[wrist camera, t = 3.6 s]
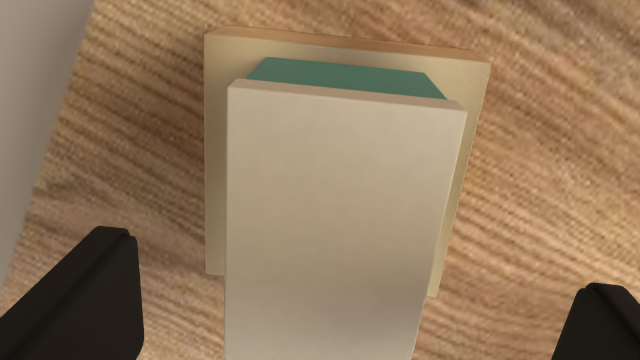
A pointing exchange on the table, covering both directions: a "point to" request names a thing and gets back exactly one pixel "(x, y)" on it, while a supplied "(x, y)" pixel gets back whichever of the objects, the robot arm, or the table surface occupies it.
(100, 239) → the robot arm
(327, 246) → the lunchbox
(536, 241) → the table surface
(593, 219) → the table surface
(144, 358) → the table surface
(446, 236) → the square wooden board
